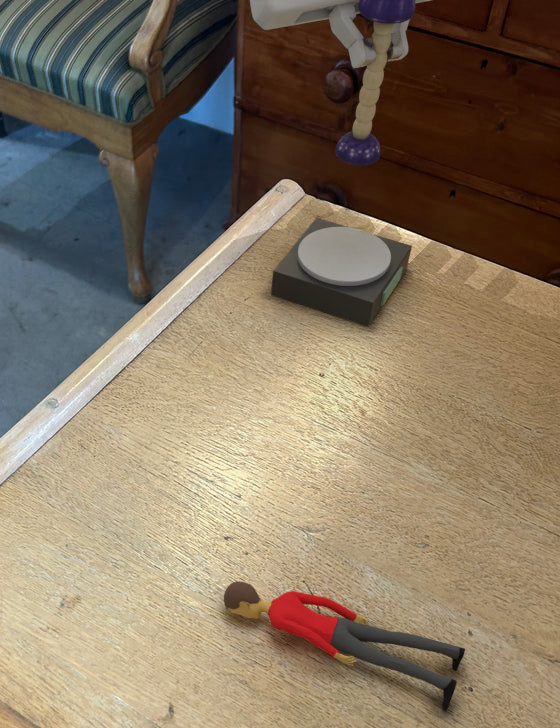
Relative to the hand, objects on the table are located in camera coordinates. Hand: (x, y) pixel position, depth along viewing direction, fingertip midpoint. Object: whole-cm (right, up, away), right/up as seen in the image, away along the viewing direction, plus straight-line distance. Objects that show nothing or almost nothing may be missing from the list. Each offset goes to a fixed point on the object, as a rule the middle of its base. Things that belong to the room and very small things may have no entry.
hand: (381, 61), depth 77 cm
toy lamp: (0, -5, +7) cm, 9 cm away
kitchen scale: (0, -14, +19) cm, 23 cm away
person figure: (+3, -51, -12) cm, 53 cm away
